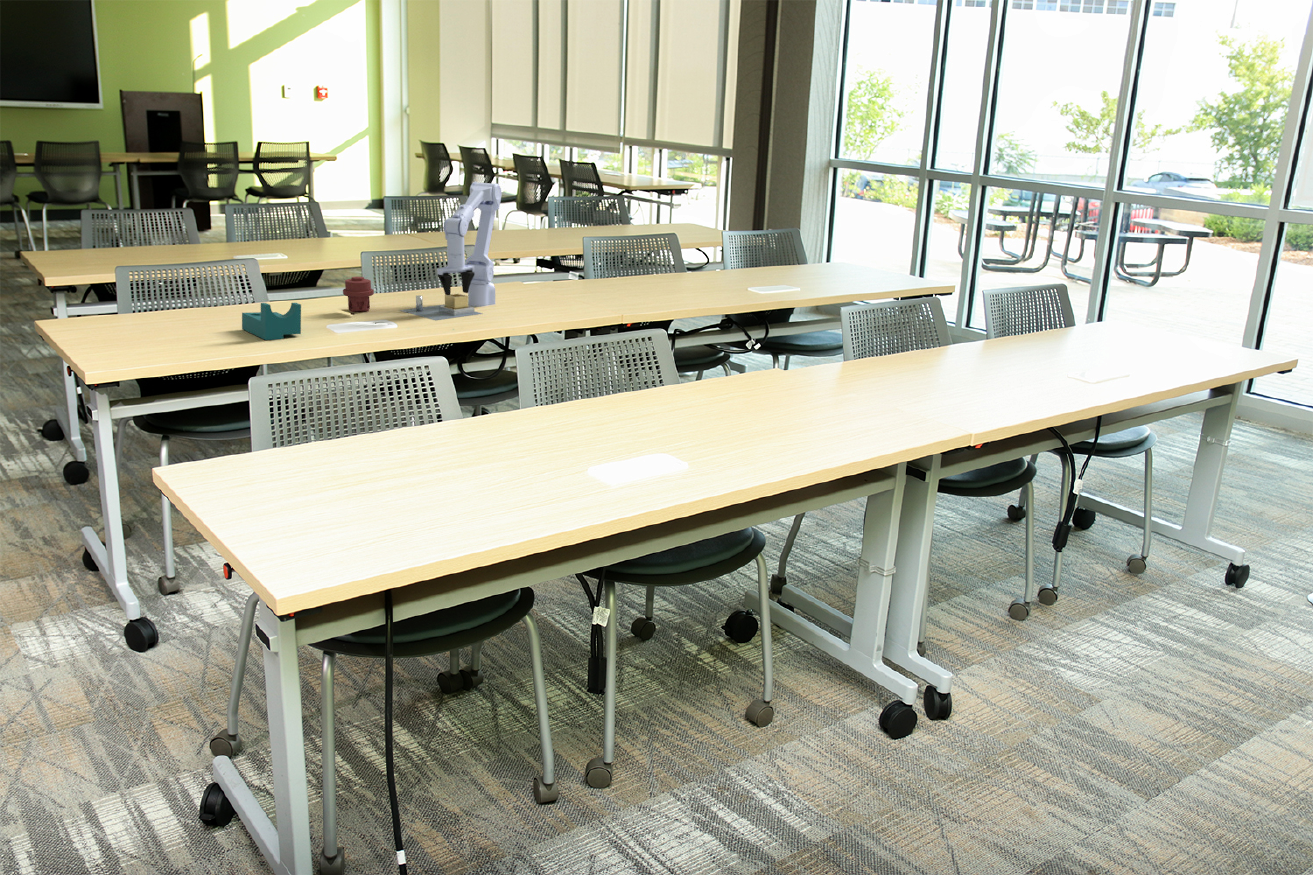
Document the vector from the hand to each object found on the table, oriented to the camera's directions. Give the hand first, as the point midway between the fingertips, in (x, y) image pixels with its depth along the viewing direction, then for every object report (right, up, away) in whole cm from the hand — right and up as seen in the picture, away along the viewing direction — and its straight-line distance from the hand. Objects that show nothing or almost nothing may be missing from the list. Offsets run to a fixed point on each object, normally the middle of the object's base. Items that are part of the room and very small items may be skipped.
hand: (456, 293), depth 347 cm
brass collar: (0, -5, +2) cm, 6 cm away
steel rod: (-13, -6, +1) cm, 14 cm away
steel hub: (0, -6, +2) cm, 6 cm away
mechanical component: (-33, -7, -3) cm, 34 cm away
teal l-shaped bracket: (-50, -18, -37) cm, 64 cm away
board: (-6, -7, +1) cm, 9 cm away
